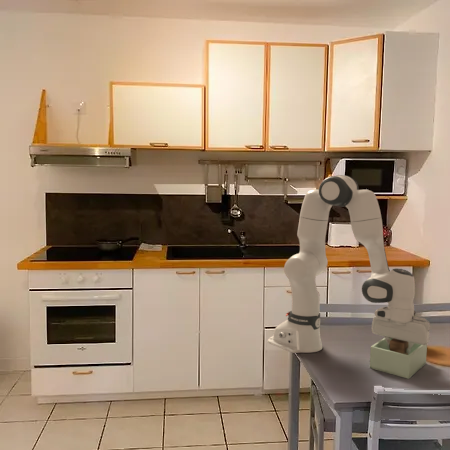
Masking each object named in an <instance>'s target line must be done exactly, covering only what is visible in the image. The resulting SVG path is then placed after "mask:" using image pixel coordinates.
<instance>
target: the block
mask: <svg viewBox="0 0 450 450" xmlns="http://www.w3.org/2000/svg"><path fill="white" fill-rule="evenodd" d="M408 343H409V342H407V341H403V340H398V339H394V338H393V339H392V340H390V351H394V352H398V353H402V354H406V355H408V353H405V348H406V347H408V346H409V344H408Z"/></svg>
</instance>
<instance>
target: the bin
mask: <svg viewBox="0 0 450 450" xmlns="http://www.w3.org/2000/svg"><path fill="white" fill-rule="evenodd" d="M392 339H393V338H390V340H392ZM409 346H410V345H409ZM409 346H408V347H409ZM427 348H428V343H427V344H426V345H420V344H416V343H414V345H413V346H412V348H411V352H410V354H408V355H406V354H402V353H398V352H394V351H390V349H388V344H387V342H386V340H385V337H384V338H382V339H380V340H378V341H377V342H376V343H374V344H372V345H371V346H370V353H369V369H372V370H376V371H380V372H383V373H385V374H390V375H394V376H397V377H401V378H404V379H407V380H408V379H409V380H410V378H412V376H414V375H415V374H416V373H417V372H418V371H419V370H421V368H423V367H424V366H425V365H426V364H427V354H428V349H427Z"/></svg>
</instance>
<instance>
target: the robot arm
mask: <svg viewBox="0 0 450 450" xmlns="http://www.w3.org/2000/svg"><path fill="white" fill-rule="evenodd" d="M333 206H336V207H341V208H343V207H345V208H346V209H348V210H347V211H348V213H349V218H350V220H349V221H350V225H351V230H352V233H353V236H354V239H355V240H356V241H357V242H358V243H360V245H362V246H364V248H365V249H366V251H367V254H368V259H369V263H370V269H371V273H370V277H368V278H367V279H366V280H365V281H364V282H363V283H362V286H361V293H362V296H363V297H364V299H365V300H366V301H368V302H370V303H374V304H384V303H388V304H387V306H382V307H379V308H377V309H376V310H375V311H374V316H373V317H372V322H371V332H372V334H373V335H377V336H381V337H384V338H385V340H386V342H387V344H388V349H390V338H394V339H398V340H403V341H407V342H409V343H408V344H409V345H410V346H409V347H406V348H405V353H408V354H410V352H411V348H412V346H413V345H414V343H416V344H420V345H426V344H427V345H428V344H429V343H430V330H431V323H430V322H429V320H427V319H426V318H424V317H418V316H415V317H414V311H415V305H414V299H415V296H416V284H415V283H416V282H415V277H414V274H413V273H412V272H411V271H408V270H406V269H402V268H392V269H391V270H390V268H389V265H388V263H389V262H388V258H387V254H386V249H385V244H384V243H385V242H384V228H383V219H382V214H381V209H380V205H379V201H378V198H377V196H376V194H375V192H374V191H372V190H369V189H359V185H358V182H357V181H356V179H354V178H353V177H352V176H350V175H345V174H344V175H343V174H338V175H331V176H328V177H326V178H325V179H324V180H322V181H321V183H320V185H319V186H318V189H310V190H308V191H307V192H306V193H305V195H304V198H303V201H302V204H301V209H300V213H299V220H298V221H299V222H298V227H297V233H296V235H297V238H298V242H299V252H298V253H296V254H293V255H292V256H290V257H289V258H288V259H287V260H286V261H285V263H284V266H283V267H284V268H283V270H284V275H285V276H286V277H287V278H288V281H289V285H290V290H291V310H290V311H288V312H287V313H285V317H287V319H286V320H284V321H282V322H281V323H279V324H278V325H277V326H276V327H275V328H274V331H273V335H272V336H270V337H269V338H268V339H267V344H269V345H272V346H275V347H277V348H279V349H282V350H285V351H287V352H290V353H293V354H297V353H298V354H299V353H316V352H319V351H321V350H322V349H323V348H324V347H323V343H322V340H321V333H320V331H321V330H320V327H321V313H320V300H321V294H320V292H319V291H318V288H317V283H316V278H317V276H320V275H321V274H322V273H324V271H325V270H326V269H327V267H328V261H329V260H328V258H327V254H326V237H327V236H326V235H327V229H328V222H329V216H330V211H331V208H332V207H333Z"/></svg>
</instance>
